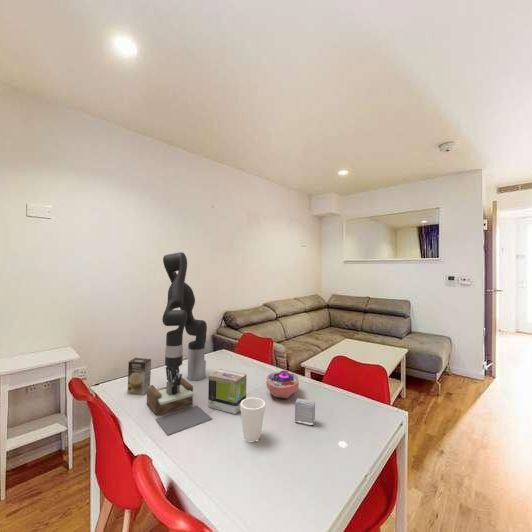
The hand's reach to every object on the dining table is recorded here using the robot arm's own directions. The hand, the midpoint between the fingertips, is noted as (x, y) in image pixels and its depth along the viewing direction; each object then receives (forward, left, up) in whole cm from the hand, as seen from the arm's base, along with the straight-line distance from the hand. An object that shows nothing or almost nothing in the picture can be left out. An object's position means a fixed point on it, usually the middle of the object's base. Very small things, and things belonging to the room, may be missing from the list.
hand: (172, 392), depth 127 cm
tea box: (-21, +13, -8) cm, 26 cm away
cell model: (-49, +20, -8) cm, 54 cm away
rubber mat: (0, +12, -7) cm, 14 cm away
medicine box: (-40, +44, -7) cm, 60 cm away
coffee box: (+7, -26, -7) cm, 28 cm away
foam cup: (-16, +39, -7) cm, 43 cm away
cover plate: (0, 0, -1) cm, 1 cm away
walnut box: (0, -4, -7) cm, 8 cm away
